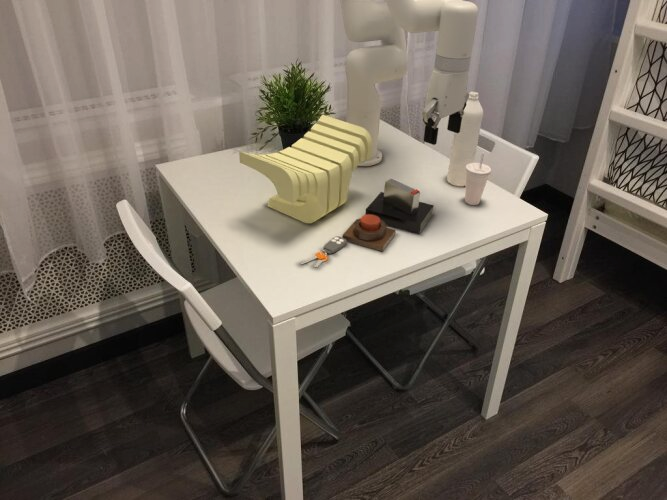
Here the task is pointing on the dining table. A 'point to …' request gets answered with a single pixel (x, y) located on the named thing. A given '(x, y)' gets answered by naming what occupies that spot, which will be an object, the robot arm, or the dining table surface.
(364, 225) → the button
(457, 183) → the water bottle
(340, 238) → the key chain
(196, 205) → the dining table surface
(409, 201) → the silver metal block
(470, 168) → the smoothie
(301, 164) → the slatted curved stool
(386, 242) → the button block
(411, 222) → the plate
